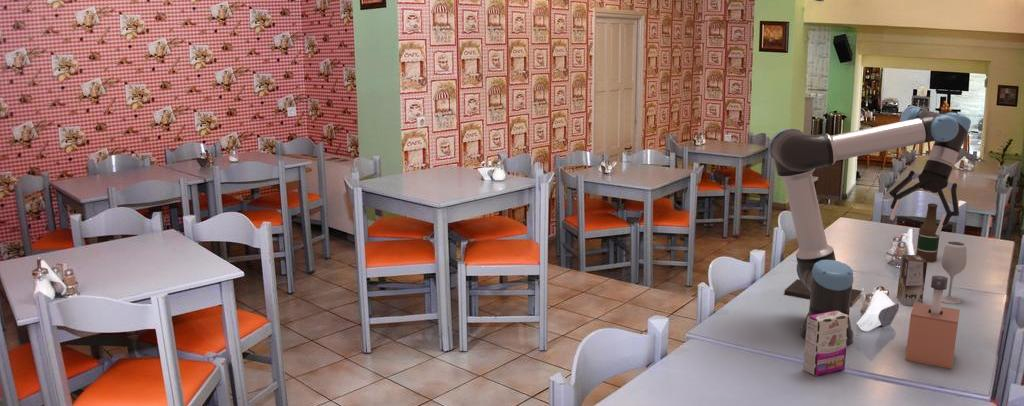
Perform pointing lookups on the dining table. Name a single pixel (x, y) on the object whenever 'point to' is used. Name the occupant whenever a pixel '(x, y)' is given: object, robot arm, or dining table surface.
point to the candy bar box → (825, 343)
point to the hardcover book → (802, 292)
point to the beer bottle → (928, 236)
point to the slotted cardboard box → (932, 335)
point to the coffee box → (911, 279)
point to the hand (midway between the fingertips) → (913, 227)
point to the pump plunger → (938, 292)
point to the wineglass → (953, 264)
